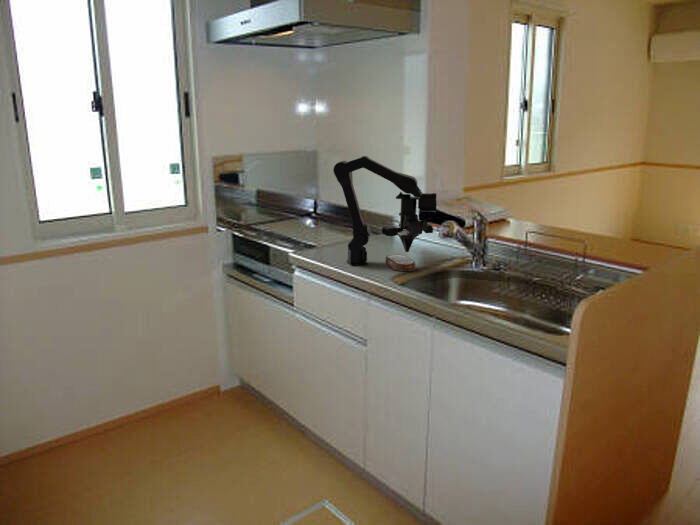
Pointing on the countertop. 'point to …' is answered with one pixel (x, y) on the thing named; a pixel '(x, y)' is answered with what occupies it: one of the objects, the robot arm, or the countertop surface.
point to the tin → (400, 262)
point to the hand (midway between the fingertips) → (406, 251)
